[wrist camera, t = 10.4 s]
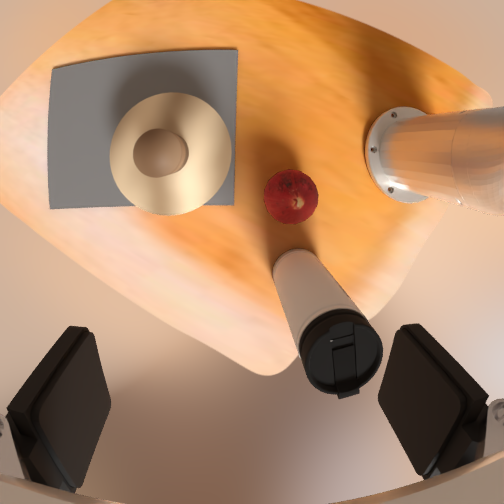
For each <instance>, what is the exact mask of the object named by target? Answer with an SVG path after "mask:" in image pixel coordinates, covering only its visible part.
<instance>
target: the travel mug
mask: <svg viewBox="0 0 504 504" xmlns="http://www.w3.org/2000/svg"><path fill="white" fill-rule="evenodd" d="M272 275H273V280H274V283H275V286H276V289H277V292H278V295H279V298H280V301H281V304H282V307H283V310H284V313H285V315H286V318H287V321H288V324H289V327H290V330H291V333H292V336H293V339H294V342H295V345H296V348H297V351H298V353H299V357H300V358H301V360H302V363H303V366H304V369H305V372H306V375H307V378H308V379H309V381H310V383H311V384H312V385H313V386H314V387H315V388H317V389H318V390H320V391H322V392H324V393H327V394H337V396H338V398H339V399H342V398H346V397H349V396H353V395H356V394H359V388H360V387H362V386H363V385H365V384H366V383H367V382H368V381H369V380H370V379H371V378H372V377H373V376H374V375H375V373H376V372H377V370H378V368H379V366H380V364H381V361H382V357H383V346H382V342H381V339H380V337H379V335H378V334H377V333H376V331H375V330H374V329H373V327H372V326H371V325H370V324H369V322H368V320H367V319H366V317H365V316H364V315H363V314H362V312H361V311H360V310H359V308H358V307H357V306H356V305H355V303H354V302H353V301H352V300H351V298H350V297H349V296H348V295H347V293H346V292H345V291H344V290H343V288H342V287H341V286H340V285H339V284H338V282H337V281H336V280H335V279H334V277H333V276H332V275H331V274H330V273H329V271H328V270H327V269H326V268H325V266H324V265H323V264H322V263H321V262H320V260H319V259H318V258H317V257H316V256H315V255H314V254H313V253H312V252H310V251H308V250H305V249H299V248H298V249H292V250H289V251H287V252H285V253H283V254H282V255H281V256H280V257H279V258H278V259H277V261H276V262H275V264H274V267H273V272H272Z"/></svg>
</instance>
